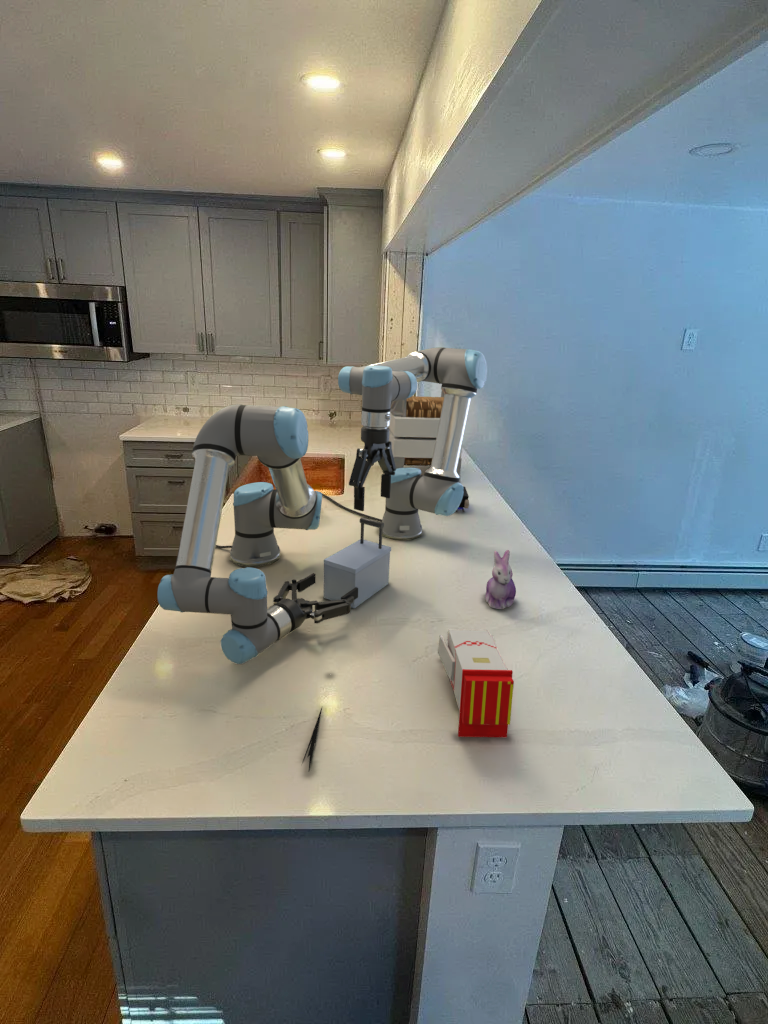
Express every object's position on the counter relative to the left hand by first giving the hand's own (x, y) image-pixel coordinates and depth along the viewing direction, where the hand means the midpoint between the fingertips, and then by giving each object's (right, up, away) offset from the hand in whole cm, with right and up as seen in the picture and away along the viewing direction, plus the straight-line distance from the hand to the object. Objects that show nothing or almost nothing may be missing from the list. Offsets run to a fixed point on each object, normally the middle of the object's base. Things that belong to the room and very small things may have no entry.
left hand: (335, 584), depth 147 cm
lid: (+6, +7, +8) cm, 12 cm away
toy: (+31, -19, -29) cm, 46 cm away
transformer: (+30, +38, +128) cm, 136 cm away
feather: (0, -21, -39) cm, 44 cm away
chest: (+5, -3, +11) cm, 13 cm away
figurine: (+45, -6, +9) cm, 46 cm away
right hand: (+9, +21, +9) cm, 25 cm away
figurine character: (+43, +21, +81) cm, 94 cm away
